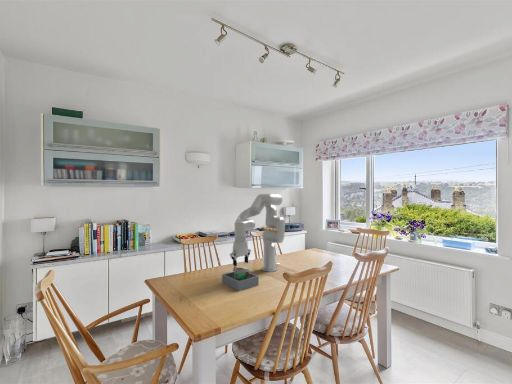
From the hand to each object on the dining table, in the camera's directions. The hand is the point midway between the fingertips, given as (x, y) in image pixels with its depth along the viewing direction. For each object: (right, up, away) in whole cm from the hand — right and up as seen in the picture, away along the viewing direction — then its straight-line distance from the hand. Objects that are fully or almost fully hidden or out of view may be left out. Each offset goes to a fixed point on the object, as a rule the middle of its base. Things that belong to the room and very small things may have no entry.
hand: (240, 264), depth 185 cm
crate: (0, -13, 0) cm, 13 cm away
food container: (-1, -13, -1) cm, 13 cm away
